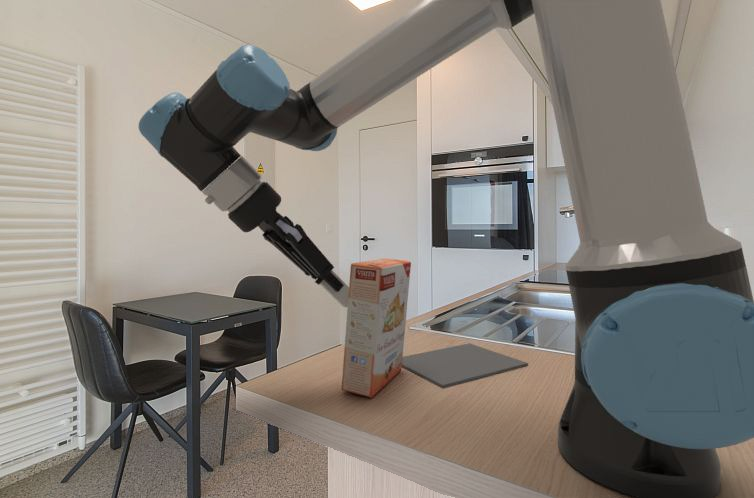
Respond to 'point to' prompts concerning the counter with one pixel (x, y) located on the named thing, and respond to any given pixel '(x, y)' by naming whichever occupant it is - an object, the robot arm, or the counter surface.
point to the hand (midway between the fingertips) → (349, 300)
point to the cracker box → (375, 324)
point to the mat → (459, 364)
